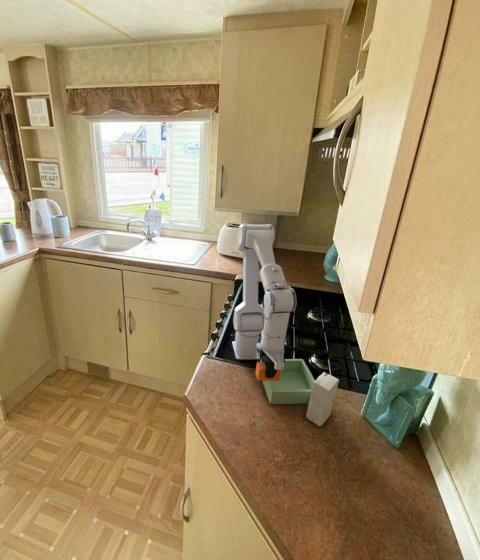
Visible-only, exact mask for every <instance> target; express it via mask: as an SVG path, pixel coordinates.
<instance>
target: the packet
mask: <svg viewBox="0 0 480 560" xmlns="http://www.w3.org/2000/svg"><path fill="white" fill-rule="evenodd" d="M254 373H255V376H256V380H257V382H262V381H279V379H280V374H281V370H278V371H277V372H276V374H275V376H274V378H266V376H265V363H264V362H260V361H258V362H256V367H255V372H254Z"/></svg>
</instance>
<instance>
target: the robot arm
mask: <svg viewBox="0 0 480 560" xmlns="http://www.w3.org/2000/svg"><path fill="white" fill-rule="evenodd" d="M275 231H276V230H275V228H274V225H273V224H271V223H268V224H244V223H241V224H240V225H239V226H238V229H237V251H239V252H241V253H242V257H243V258H242V260H243V261H242V264H243V265H242V267H243V268H242V270H243V271H242V302H241V303H240V304H238V305H237V306H236V307H234V309H233V310H234V312H233V318H232V323H233V328H234V329H233V330H235V336H234V337H235V338H234V341H232V342H231V344H232V348H233V352H234V355H235V359H236V360H260V359H262V362H264V363H265V376H266V378H274V376H275V374H276V372H277V371H278V370H283V368H284V364H285V359H286V358H285V357H284V354H285V342H286V336H287V330H288V325H289V319H290V315H291V312H294V311H295V310H296V308H297V294H296V291H295V289H294V288H292V287H291V285H290V284H288V283H287V281H286V280H287V279H286V277H285V275H284V271H283V269H282V266H281V265H279V264H277V263H276V259H275V255H274V249H273V244H274V241H275V235H276V232H275ZM259 263H260V265H261V269H260V271H259ZM259 275H260V280H261V283H262V286H263V290H264V296H263V305H264V306H262V305H261V304H259ZM260 336H261V339H260ZM259 339H260V342H259ZM258 350H259V351H258ZM259 352H260V354H259Z"/></svg>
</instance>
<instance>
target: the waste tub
mask: <svg viewBox="0 0 480 560" xmlns="http://www.w3.org/2000/svg"><path fill="white" fill-rule="evenodd" d="M284 359H285V364H284V368H283V370H281V374H280V379H279V381H261V382H262V385H263V388H264V390H265V393H266V396H267V399H268V402H269V405H296V404H297V405H298V404H301V405H303V404H309V401H310V396H311V392H312V387H313V383H314V382H315V380H316V379H315V378H314V376H313V374H312V372H311V370H310V369H309V367H308V365H307V364H306V362H305V360H304V359H303V358H284ZM259 362H262V359H261V358H260V359H259Z"/></svg>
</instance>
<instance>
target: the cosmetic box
mask: <svg viewBox="0 0 480 560" xmlns="http://www.w3.org/2000/svg"><path fill="white" fill-rule="evenodd" d="M314 380H315V382H314V383H313V387H312V392H311V396H310V401H309V403H308V404H307V405H308V406H307V409H306V410H307V411H306V415H305V418H306V419H307V420H309V421H311V423H314V424H315V425H317V426H318V427H321V426H322V425H323V424H324V423H326V421H327V420H328V419H329V418H330V416H331V413H332V409H333V405H334V403H335V398H336V395H337V390H338V386H339V382H340V379H339V378H337V377H335V376H333V375H331V374H329V373H327V372H325V371H324V372H322V373H321V374H320V375H319V376H317V378H316V379H314Z"/></svg>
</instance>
